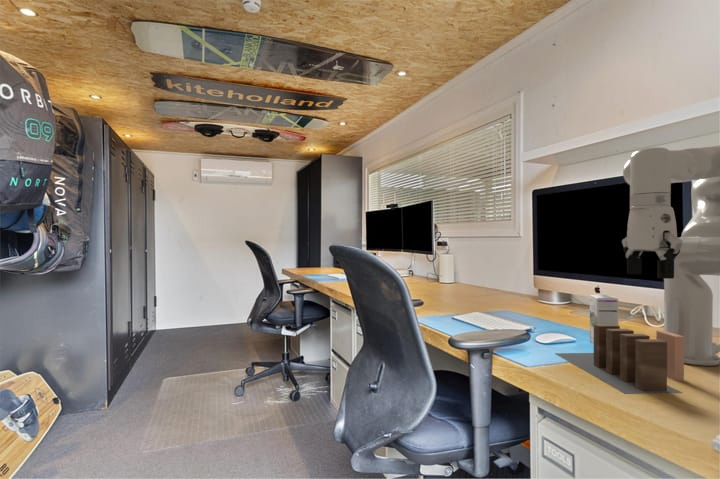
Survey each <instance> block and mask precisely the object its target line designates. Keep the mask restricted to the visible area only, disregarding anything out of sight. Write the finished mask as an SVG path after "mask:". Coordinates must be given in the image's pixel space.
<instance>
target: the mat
mask: <svg viewBox="0 0 720 479" xmlns="http://www.w3.org/2000/svg"><path fill="white" fill-rule="evenodd" d="M554 355H556V356H558V357H560V358H562V359H563V360H566V362H569V363H570V364H572V365H573V366H576V367H577V368H579V369H580V370H583V371H584V372H585V373H587V374H589V375H591V376H592V377H595V378H596V379H598V380H600V381H601V382H604V383H605V384H607V385H609V387H611V388H613V389H616V390H617V391H619V392H620V393H622V394H624V395H627V394H628V395H631V394H632V395H634V394H635V395H639V394H640V395H642V394H644V395H646V394H650V395H651V394H684V392H683V391H680V390H678V389H677V388H674V387H672V386H670V385H668V384H667V391H641V390H640V389H638V388H636V387H635V383H626V382H624V381H623V380H621V379H620V375H611V374H609V373H607V372H606V368H598V367H596V366H594V352H567V353H565V352H561V353H559V352H554Z"/></svg>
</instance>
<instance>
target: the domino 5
mask: <svg viewBox="0 0 720 479" xmlns="http://www.w3.org/2000/svg"><path fill="white" fill-rule="evenodd" d="M655 334H656V336H655V339H660V340H663V341H666V342H667V379H668V378H669V379H671V380H673V381H685V363H684V336H681V335H677V334H674V333H671V332H667V331H664V330H656V332H655Z"/></svg>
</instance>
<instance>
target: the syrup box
mask: <svg viewBox="0 0 720 479" xmlns="http://www.w3.org/2000/svg"><path fill="white" fill-rule="evenodd" d="M619 322H620V321H619V297H615V296H613V295H609V294H608V295H607V294H589V343H590V344H593V345H594V324H615V325H618V326H620V325H619Z"/></svg>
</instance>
